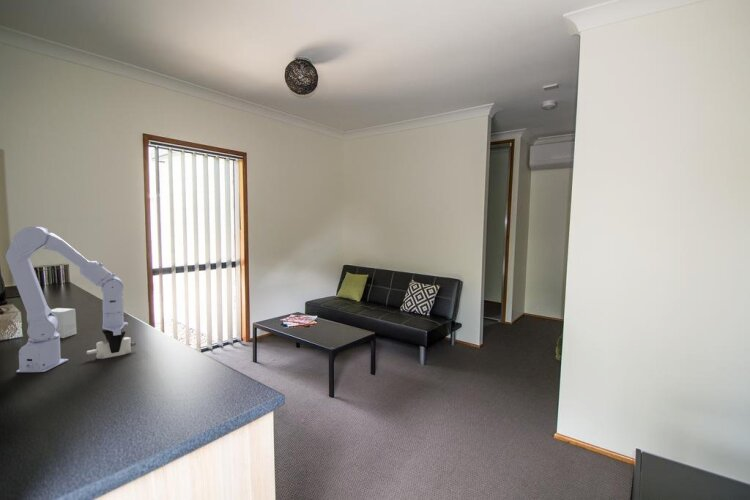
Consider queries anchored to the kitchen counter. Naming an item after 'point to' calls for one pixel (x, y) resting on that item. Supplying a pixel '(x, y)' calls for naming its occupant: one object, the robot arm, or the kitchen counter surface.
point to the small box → (65, 321)
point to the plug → (105, 351)
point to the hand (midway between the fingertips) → (114, 350)
